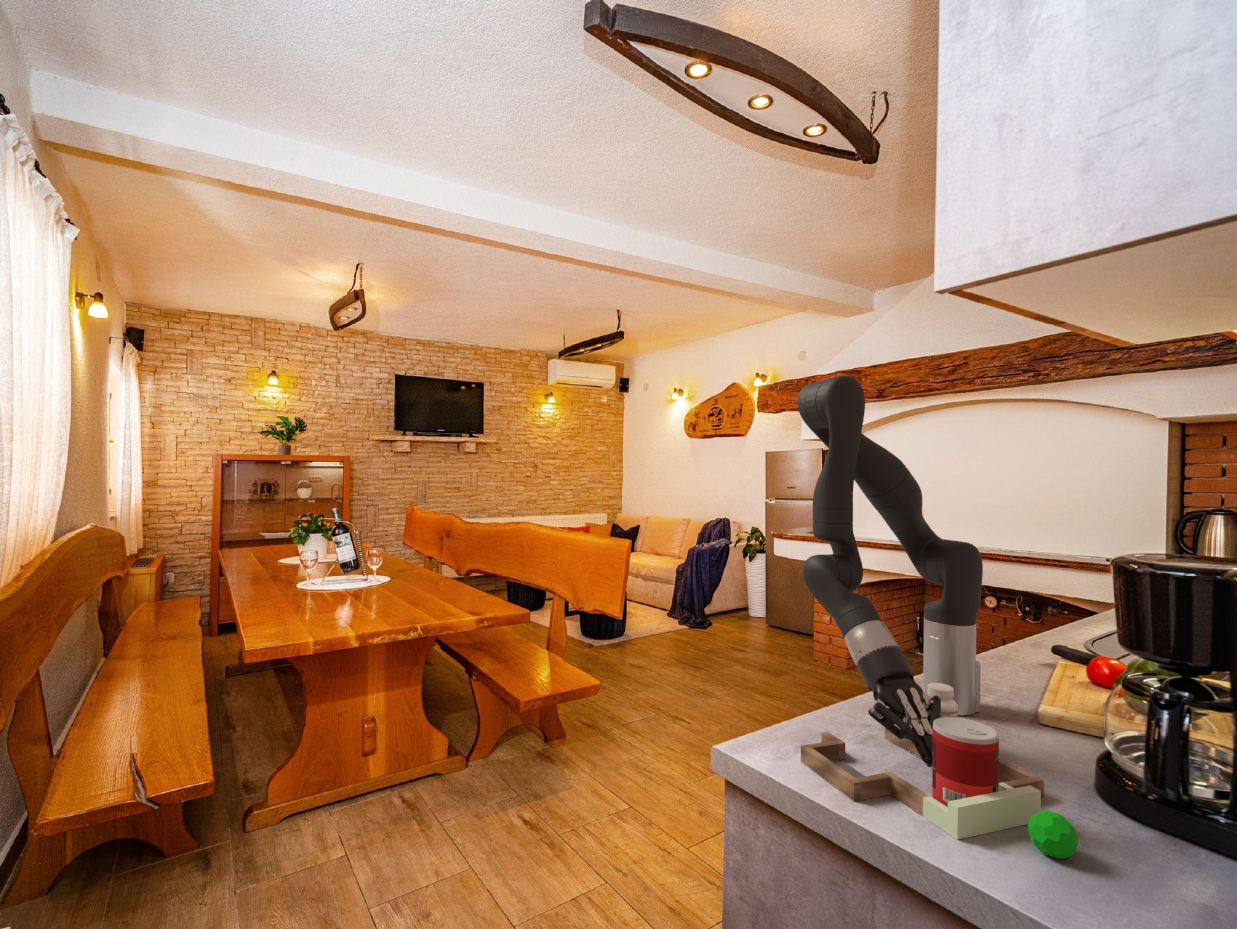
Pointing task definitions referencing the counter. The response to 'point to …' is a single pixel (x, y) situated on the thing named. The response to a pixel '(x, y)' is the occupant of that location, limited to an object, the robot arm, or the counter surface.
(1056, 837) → the polyhedron
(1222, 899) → the counter surface
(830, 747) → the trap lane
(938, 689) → the supplement bottle
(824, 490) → the robot arm
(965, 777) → the canned food
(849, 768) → the mats
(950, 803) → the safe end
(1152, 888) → the counter surface
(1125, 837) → the counter surface
